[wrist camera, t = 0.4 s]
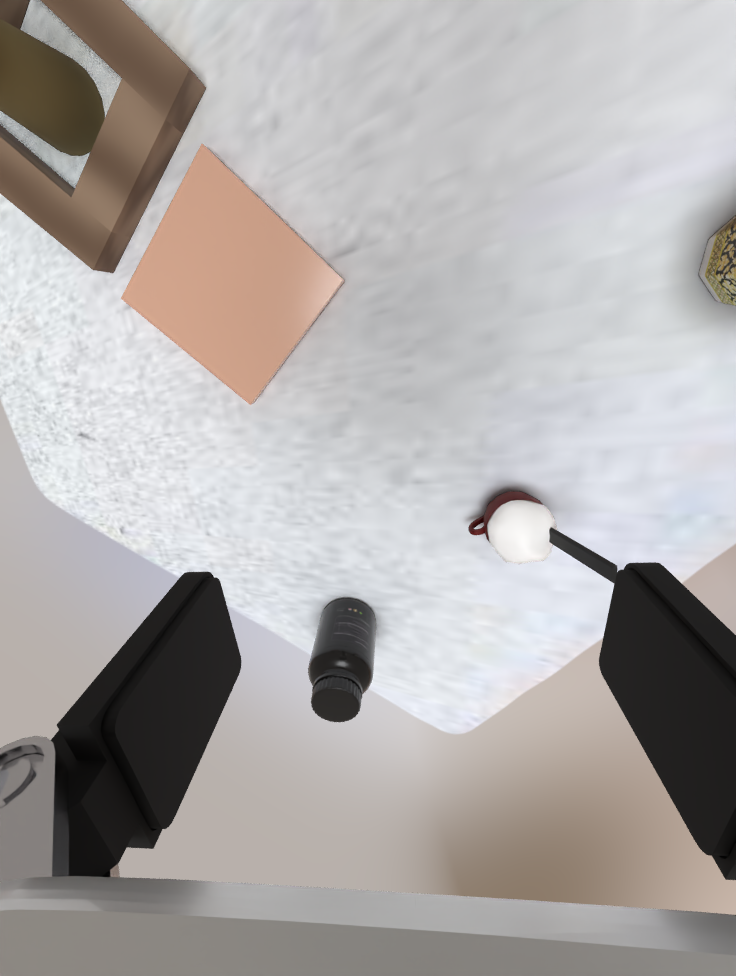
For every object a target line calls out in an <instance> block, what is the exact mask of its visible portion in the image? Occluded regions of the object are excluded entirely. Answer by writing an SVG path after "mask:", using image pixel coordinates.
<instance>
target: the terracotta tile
mask: <svg viewBox="0 0 736 976" xmlns="http://www.w3.org/2000/svg"><path fill="white" fill-rule="evenodd" d="M344 281H345V280H344V279H343V278H342V277H340V276H339V275H338V274H337V273H336V272H335V271H334V270H333V269H332V268H331V267H330V266H329V265H328V264H327V263H326V262H325V261H324V260H323V259H322V258H321V257H320V256H319V255H318V254H317V253H316V252H315V251H314V250H312V249H311V248H310V247H309V246H308V245H307V244H306V243H305V242H304V241H303V240H302V239H301V238H300V237H299V236H298V235H297V234H296V233H295V232H294V231H293V230H292V229H291V228H290V227H289V226H288V225H287V224H285V223H284V222H283V221H282V220H281V219H280V218H279V217H278V216H277V215H276V214H275V213H274V212H273V211H272V210H271V209H270V208H269V207H268V206H267V205H266V204H265V203H264V202H263V201H262V200H261V199H260V198H259V197H257V196H256V195H255V194H254V193H253V192H252V191H251V190H250V189H249V188H248V187H247V186H246V185H245V184H244V183H243V182H242V181H241V180H240V179H239V178H238V177H237V176H236V175H235V174H234V173H233V172H232V171H231V170H229V169H228V168H227V167H226V166H225V165H224V164H223V163H222V162H221V161H220V160H219V159H218V158H217V157H216V156H215V155H214V154H213V153H212V152H211V151H210V150H209V149H208V148H207V147H205V146H204V145H203V144H201V146H200V148H199V150H198V152H197V154H196V156H195V158H194V160H193V162H192V164H191V166H190V167H189V169H188V171H187V173H186V175H185V177H184V179H183V181H182V183H181V185H180V187H179V188H178V190H177V192H176V194H175V196H174V198H173V200H172V202H171V204H170V206H169V208H168V209H167V211H166V213H165V215H164V217H163V219H162V221H161V223H160V225H159V227H158V229H157V230H156V232H155V234H154V236H153V238H152V240H151V242H150V244H149V246H148V248H147V250H146V251H145V253H144V255H143V257H142V259H141V261H140V263H139V265H138V267H137V269H136V271H135V273H134V274H133V276H132V278H131V280H130V282H129V284H128V286H127V288H126V290H125V292H124V294H123V295H122V297H121V299H122V300H123V301H125V302H126V303H127V304H128V305H130V306H131V307H132V308H133V309H134V310H136V311H137V312H138V313H139V314H141V315H142V316H143V317H144V318H145V319H147V320H148V321H149V322H150V323H151V324H153V325H154V326H155V327H156V328H158V329H159V330H160V331H161V332H162V333H164V334H165V335H166V336H167V337H168V338H170V339H171V340H172V341H173V342H175V343H176V344H177V345H178V346H179V347H181V348H182V349H183V350H184V351H186V352H187V353H188V354H189V355H190V356H192V357H193V358H194V359H195V360H196V361H198V362H199V363H200V364H201V365H203V366H204V367H205V368H206V369H207V370H209V371H210V372H211V373H212V374H213V375H215V376H216V377H217V378H218V379H220V380H221V381H222V382H223V383H224V384H226V385H227V386H228V387H229V388H231V389H232V390H233V391H234V392H235V393H237V394H238V395H239V396H240V397H241V398H243V399H244V400H245V401H246V402H248V403H249V404H250V405H251V404H253V403H254V402H255V401H256V399H257V398H258V397H259V395H260V394H261V393H262V391H263V390H264V389H265V387H266V386H267V385H268V383H269V382H270V381H271V379H272V378H273V377H274V375H275V374H276V373H277V371H278V370H279V369H280V367H281V366H282V365H283V363H284V362H285V360H286V359H287V358H288V356H289V355H290V354H291V352H292V351H293V350H294V348H295V347H296V346H297V344H298V343H299V342H300V340H301V339H302V338H303V336H304V335H305V334H306V332H307V331H308V330H309V328H310V327H311V326H312V324H313V323H314V322H315V320H316V319H317V318H318V316H319V315H320V313H321V312H322V311H323V309H324V308H325V307H326V305H327V304H328V303H329V301H330V300H331V299H332V297H333V296H334V295H335V293H336V292H337V291H338V289H339V288H340V287H341V285H342V284H343V283H344Z"/></svg>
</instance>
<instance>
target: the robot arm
mask: <svg viewBox="0 0 736 976" xmlns="http://www.w3.org/2000/svg"><path fill="white" fill-rule="evenodd" d="M599 666H600V670H601V673H602V675H603V677H604V679H605V680H606V682H607V684H608V686H609V688H610V690H611V692H612V693H613V695H614V697H615V699H616V700H617V702H618V704H619V706H620V708H621V710H622V711H623V713H624V715H625V717H626V719H627V720H628V722H629V724H630V725H631V727H632V729H633V731H634V733H635V735H636V736H637V738H638V740H639V742H640V743H641V745H642V747H643V749H644V750H645V752H646V754H647V756H648V758H649V760H650V761H651V763H652V765H653V767H654V768H655V770H656V772H657V774H658V776H659V777H660V779H661V781H662V783H663V785H664V786H665V788H666V790H667V792H668V794H669V795H670V797H671V799H672V801H673V803H674V804H675V806H676V808H677V809H678V811H679V813H680V815H681V817H682V819H683V820H684V822H685V824H686V825H687V828H688V829H689V831H690V833H691V835H692V836H693V838H694V840H695V842H696V843H697V845H698V846H699V848H700V849H701V850H702V851H703V852H704V853H705V854H707V855H712V857H713V858H714V860H715V862H716V864H717V865H718V867H719V869H720V870H721V872H722V874H723V876H724V877H725V879H726V880H736V635H735V634H734V633H733V632H732V631H731V630H729V629H728V628H727V627H726V626H725V625H724V624H723V623H722V622H721V621H720V620H719V619H718V618H717V617H716V616H715V615H714V614H713V613H712V612H711V611H709V610H708V608H706V607H705V606H704V605H703V604H702V603H701V602H700V601H699V600H698V599H697V598H696V597H695V596H694V595H693V594H692V593H691V592H690V591H689V590H687V588H686V587H685V586H684V585H682V584H681V583H680V582H679V581H678V580H677V579H676V578H675V577H674V576H673V575H672V574H671V573H670V572H669V571H668V570H667V569H666V568H665V567H664V566H662V565H661V564H660V563H629V564H627V565H626V566H625V568H624V570H619V571H618V572H617V575H616V579H615V584H614V589H613V594H612V599H611V604H610V608H609V613H608V618H607V623H606V628H605V633H604V637H603V642H602V648H601V652H600V657H599ZM240 669H241V656H240V653H239V649H238V645H237V641H236V638H235V634H234V630H233V627H232V623H231V620H230V616H229V612H228V609H227V605H226V601H225V598H224V594H223V590H222V587H221V583H220V581H219V579H218V578H214V577H213V575H212V574H211V573H210V572H187V573H184V574H183V575H182V576H181V577H180V578H179V580H178V581H177V582H176V583H175V585H174V586H173V587H172V588H171V589H170V590H169V592H168V593H167V594H166V595H165V596H164V598H163V599H162V600H161V601H160V602H159V603H158V605H157V606H156V607H155V608H154V609H153V611H152V612H151V613H150V615H149V616H148V617H147V618H146V619H145V620H144V621H143V623H142V624H141V625H140V626H139V627H138V629H137V630H136V631H135V632H134V633H133V634H132V636H131V637H130V638H129V639H128V640H127V642H126V643H125V644H124V645H123V646H122V648H121V649H120V650H119V651H118V653H117V654H116V655H115V656H114V657H113V658H112V660H111V661H110V662H109V663H108V664H107V665H106V667H105V668H104V669H103V670H102V672H101V673H100V674H99V675H98V676H97V677H96V679H95V680H94V681H93V682H92V683H91V685H90V686H89V687H88V688H87V689H86V691H85V692H84V693H83V694H82V695H81V697H80V698H79V699H78V700H77V701H76V703H75V704H74V705H73V706H72V707H71V708H70V710H69V711H68V712H67V713H66V714H65V716H64V717H63V718H62V719H61V720H60V722H59V723H58V724H57V727H58V728H59V731H58V732H57V733H56V735H55V736H54V737H53V738H52V740H51V741H50V740H49V739H48V738H47V737H40V736H33V737H28V738H23V739H20V740H17V741H15V742H12V743H10V744H7V745H5V746H3V747H2V748H0V976H736V915H729V914H718V913H706V912H693V911H679V910H678V911H677V910H663V909H648V908H634V907H618V906H605V905H590V904H574V903H560V902H545V901H544V902H543V901H530V900H515V899H499V898H482V897H467V896H451V895H435V894H418V893H401V892H384V891H369V890H352V889H334V888H320V887H302V886H283V885H265V884H246V883H230V882H228V883H227V882H212V881H193V880H176V879H150V878H120V876H119V866H118V863H119V861H120V859H121V857H122V855H123V853H124V851H125V849H126V847H131V848H150V849H153V848H154V846H155V844H156V842H157V840H158V838H159V835H160V833H161V831H162V829H166V828H167V827H169V825H170V824H171V823H172V821H173V819H174V817H175V815H176V813H177V811H178V809H179V806H180V804H181V802H182V800H183V798H184V795H185V793H186V791H187V789H188V786H189V784H190V782H191V780H192V777H193V775H194V773H195V771H196V769H197V766H198V764H199V762H200V759H201V758H202V755H203V753H204V751H205V749H206V746H207V744H208V742H209V739H210V737H211V735H212V733H213V731H214V729H215V726H216V724H217V722H218V719H219V717H220V715H221V713H222V711H223V708H224V706H225V704H226V702H227V700H228V697H229V695H230V693H231V691H232V689H233V686H234V684H235V682H236V680H237V677H238V675H239V673H240Z"/></svg>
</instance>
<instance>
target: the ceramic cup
mask: <svg viewBox="0 0 736 976" xmlns="http://www.w3.org/2000/svg"><path fill="white" fill-rule="evenodd" d="M699 276H700V278H701V279H702V281H703V282H704V284H705V285H706V287H707V288H708V290H709V291H710V293H711V294H712V296H713V297H714V298H715V300H716V301H718V302H722V303H725V304H730V305H735V306H736V216H735V217H733V218H732V219H731V220H730V221H729V222H728V223H726V224H725V225H724V226H723V227H722V228H721V229H720V230H718V231H717V232H716V233H715V234H714V235H713V236H712V237H711V238H710V239H709V240H708V243H707V246H706V250H705V253H704V257H703V260H702V264H701V267H700V271H699Z"/></svg>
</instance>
